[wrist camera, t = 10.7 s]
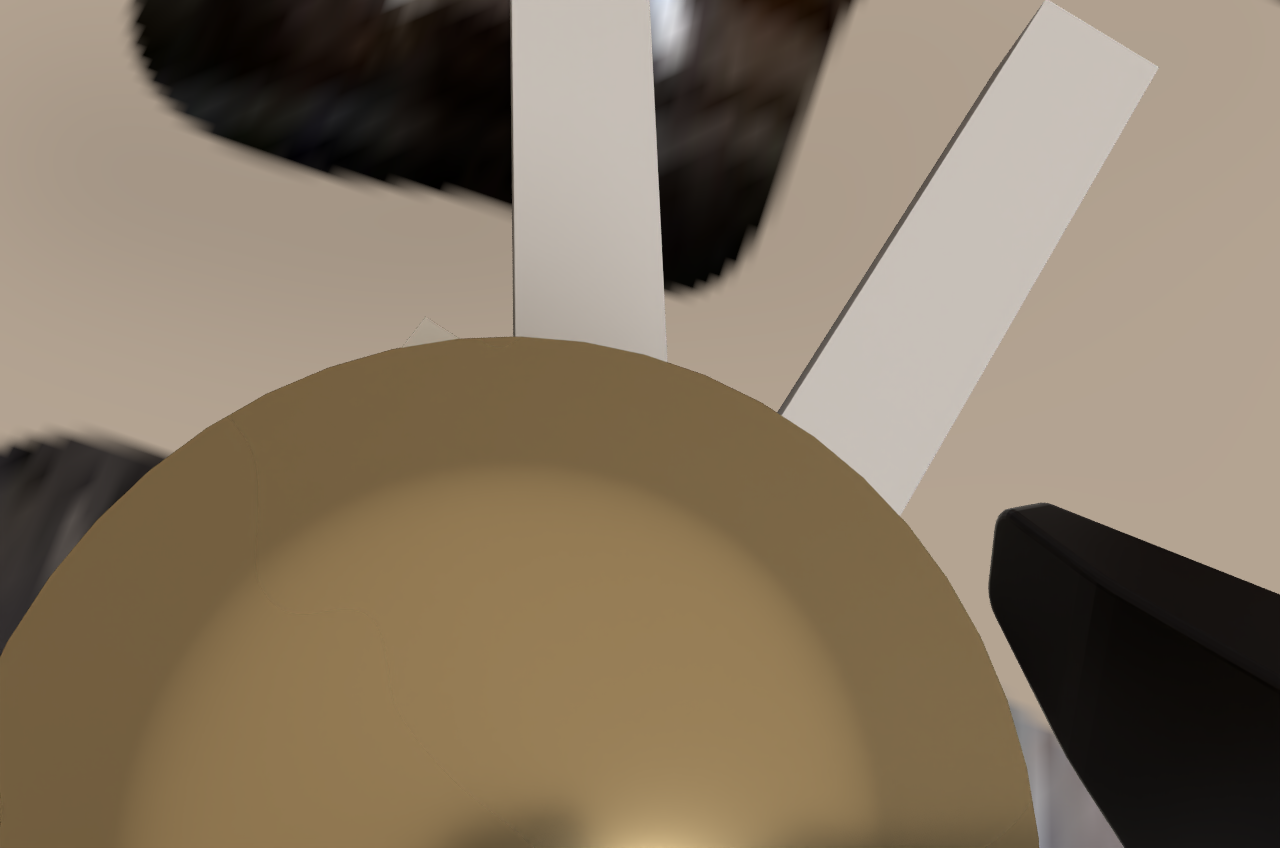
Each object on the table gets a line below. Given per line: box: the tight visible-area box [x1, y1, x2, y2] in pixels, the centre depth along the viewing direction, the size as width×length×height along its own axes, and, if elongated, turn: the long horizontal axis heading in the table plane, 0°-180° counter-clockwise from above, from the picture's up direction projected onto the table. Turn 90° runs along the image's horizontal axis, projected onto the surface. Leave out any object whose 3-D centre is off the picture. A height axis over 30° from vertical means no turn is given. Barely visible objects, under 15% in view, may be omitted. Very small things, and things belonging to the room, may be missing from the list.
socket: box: [402, 0, 1159, 516], centre depth 17 cm, size 20×13×4 cm, turn 148°
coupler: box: [0, 336, 1039, 848], centre depth 11 cm, size 4×4×13 cm
